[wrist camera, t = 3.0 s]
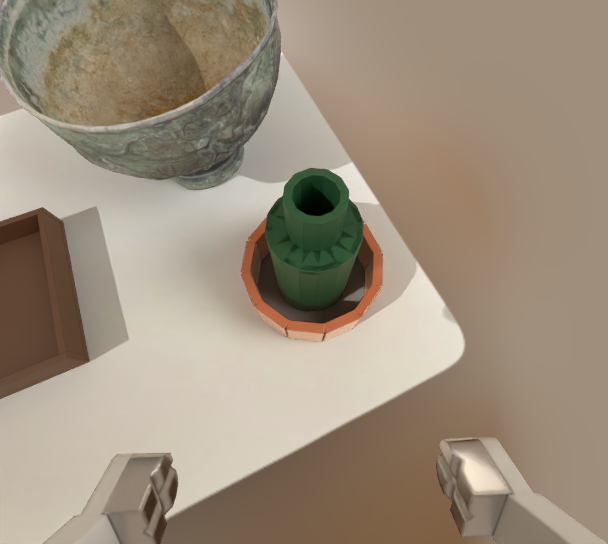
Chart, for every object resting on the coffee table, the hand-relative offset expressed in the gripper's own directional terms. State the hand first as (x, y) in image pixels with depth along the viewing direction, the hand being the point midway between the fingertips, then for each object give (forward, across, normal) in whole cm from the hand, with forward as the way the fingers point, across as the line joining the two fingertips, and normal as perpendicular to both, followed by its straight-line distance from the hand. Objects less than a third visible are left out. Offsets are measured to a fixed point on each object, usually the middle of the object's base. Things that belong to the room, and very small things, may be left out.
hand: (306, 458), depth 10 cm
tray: (+19, +26, +5) cm, 33 cm away
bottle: (+21, -1, +4) cm, 21 cm away
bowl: (+31, +10, -7) cm, 34 cm away
